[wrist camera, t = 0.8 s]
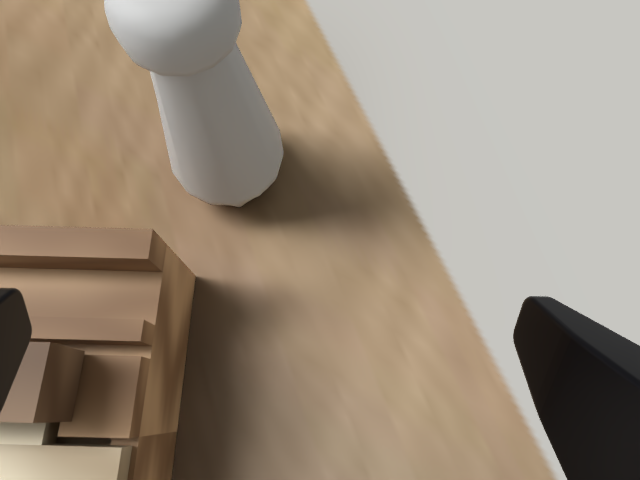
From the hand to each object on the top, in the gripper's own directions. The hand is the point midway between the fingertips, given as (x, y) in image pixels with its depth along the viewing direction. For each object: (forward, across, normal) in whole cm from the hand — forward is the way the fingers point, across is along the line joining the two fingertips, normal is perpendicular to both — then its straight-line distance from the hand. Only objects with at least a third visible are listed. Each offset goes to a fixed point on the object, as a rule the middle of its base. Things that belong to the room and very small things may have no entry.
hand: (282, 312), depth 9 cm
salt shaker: (+19, +3, +5) cm, 20 cm away
